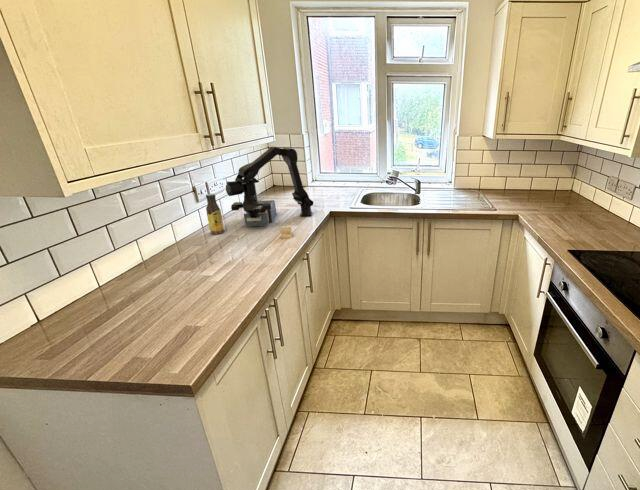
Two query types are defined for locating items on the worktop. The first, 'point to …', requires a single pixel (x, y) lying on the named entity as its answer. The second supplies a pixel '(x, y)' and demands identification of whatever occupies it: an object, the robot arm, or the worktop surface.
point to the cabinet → (271, 210)
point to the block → (286, 232)
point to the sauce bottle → (214, 215)
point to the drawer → (258, 218)
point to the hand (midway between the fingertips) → (255, 221)
